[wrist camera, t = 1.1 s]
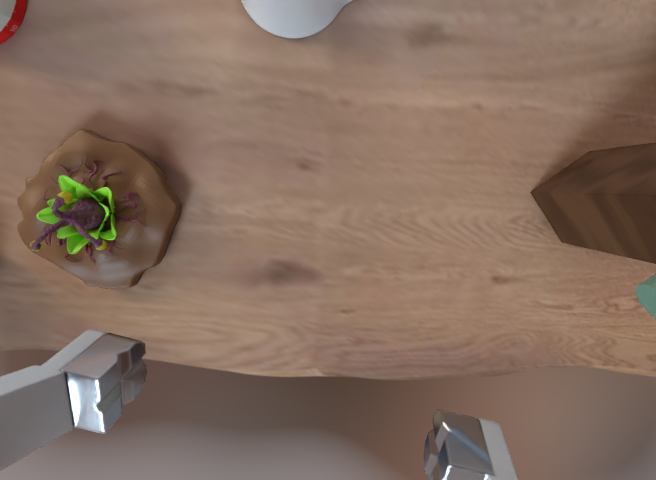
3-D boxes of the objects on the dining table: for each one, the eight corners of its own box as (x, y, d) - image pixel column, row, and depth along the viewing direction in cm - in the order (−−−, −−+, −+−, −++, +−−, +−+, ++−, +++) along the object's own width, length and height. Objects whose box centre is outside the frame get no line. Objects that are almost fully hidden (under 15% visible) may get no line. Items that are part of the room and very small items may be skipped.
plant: (205, 194, 52) (174, 196, 41) (133, 305, 54) (85, 335, 43) (78, 109, 50) (11, 87, 39) (8, 227, 52) (-75, 238, 41)
